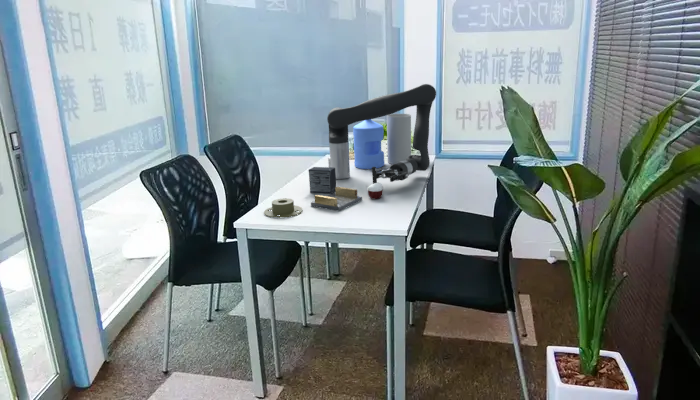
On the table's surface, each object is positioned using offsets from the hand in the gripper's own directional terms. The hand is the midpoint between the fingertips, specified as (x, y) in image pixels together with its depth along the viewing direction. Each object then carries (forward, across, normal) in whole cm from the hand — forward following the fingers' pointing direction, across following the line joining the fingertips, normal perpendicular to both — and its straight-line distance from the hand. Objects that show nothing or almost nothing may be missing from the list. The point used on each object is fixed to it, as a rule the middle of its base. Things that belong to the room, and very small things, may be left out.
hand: (382, 178), depth 225 cm
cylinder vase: (-57, -24, +7) cm, 62 cm away
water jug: (-43, -34, +7) cm, 55 cm away
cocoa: (+5, 0, +7) cm, 9 cm away
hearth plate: (+19, -10, +7) cm, 23 cm away
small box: (+7, -26, +7) cm, 28 cm away
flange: (+38, -22, +8) cm, 45 cm away
